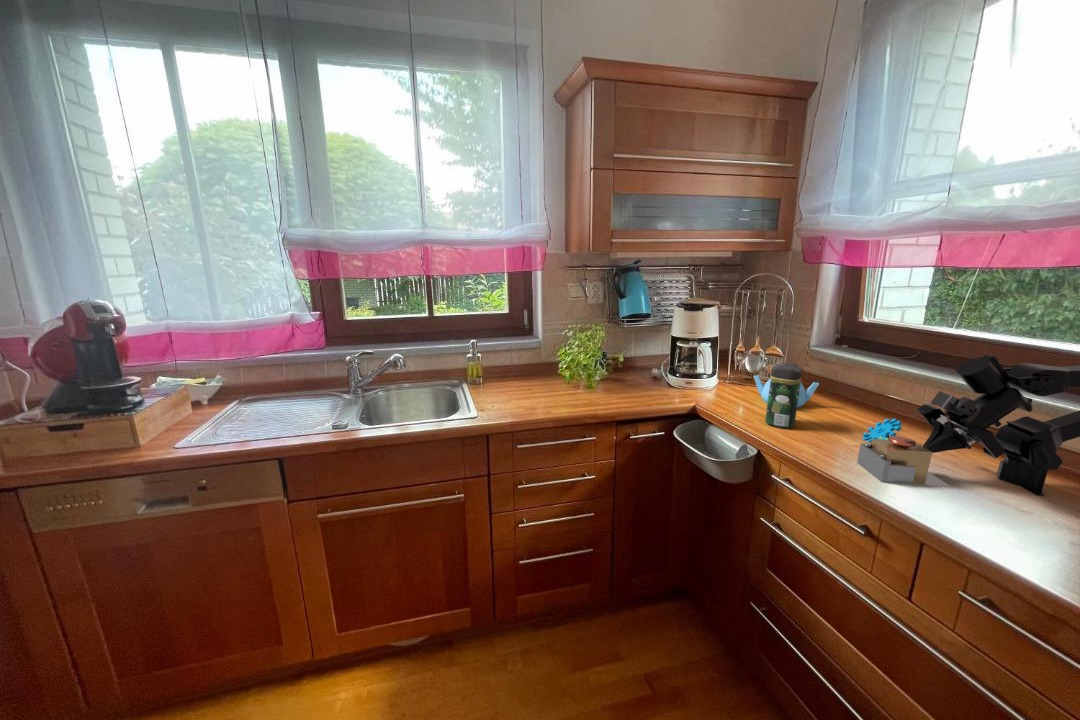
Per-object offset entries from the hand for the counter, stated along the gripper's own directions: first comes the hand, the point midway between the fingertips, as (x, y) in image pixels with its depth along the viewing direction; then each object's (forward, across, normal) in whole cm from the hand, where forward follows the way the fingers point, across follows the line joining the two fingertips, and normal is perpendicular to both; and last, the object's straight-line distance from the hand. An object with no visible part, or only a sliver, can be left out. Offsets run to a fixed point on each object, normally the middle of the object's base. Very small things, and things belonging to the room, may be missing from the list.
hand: (922, 452), depth 102 cm
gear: (+3, -20, +7) cm, 21 cm away
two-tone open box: (+7, 0, +2) cm, 7 cm away
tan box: (+7, 0, +1) cm, 7 cm away
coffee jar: (+17, -33, -8) cm, 38 cm away
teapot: (+11, -54, -1) cm, 55 cm away
